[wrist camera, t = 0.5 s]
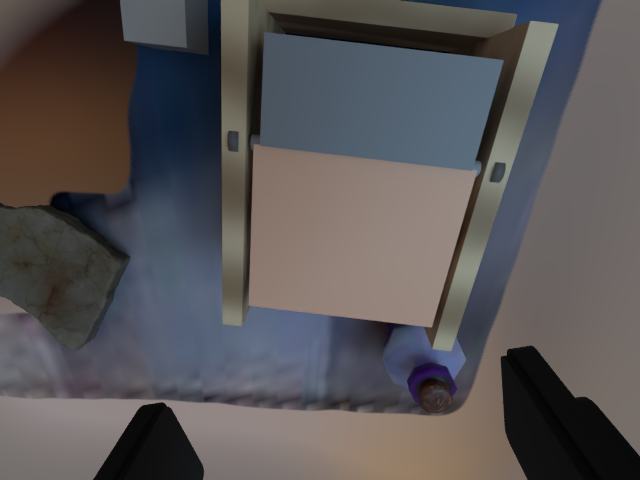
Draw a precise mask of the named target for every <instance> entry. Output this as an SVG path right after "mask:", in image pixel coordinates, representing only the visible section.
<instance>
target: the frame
mask: <svg viewBox="0 0 640 480" xmlns="http://www.w3.org/2000/svg"><path fill="white" fill-rule="evenodd" d="M516 18H517V14H511V13H502V12H494V11H485V10H476V9H468V8H459V7H451V6H442V5H434V4H425V3H417V2H408V1H400V0H221V99H222V286H223V324H226V325H235V326H242V324H243V322H244V320H245V317H246V315H247V313H248V310H249V308H250V306H249V280H250V247H251V214H252V181H253V151H252V150H251V146H250V142H251V136H252V134H255V135H260V130H261V104H262V77H263V51H264V32H269V33H277V34H285V33H292V34H301V35H309V36H318V37H327V38H335V39H344V40H352V41H361V42H369V43H378V44H386V45H395V46H403V47H412V48H420V49H429V50H437V51H446V52H452V53H451V54H456V55H465V56H473V57H482V58H490V59H499V60H504V62H503V65H502V69H501V72H500V76H499V79H498V83H497V86H496V90H495V93H494V97H493V100H492V104H491V107H490V111H489V114H488V118H487V121H486V125H485V128H484V132H483V135H482V139H481V142H480V146H479V149H478V153H477V156H476V160H475V161H480V162H481V171H480V174H479V175H478V176H477V177H475V180H474V184H473V187H472V191H471V194H470V198H469V201H468V205H467V208H466V211H465V215H464V218H463V222H462V225H461V229H460V232H459V236H458V239H457V242H456V246H455V249H454V253H453V256H452V260H451V263H450V267H449V270H448V273H447V277H446V280H445V284H444V287H443V291H442V294H441V298H440V301H439V304H438V308H437V311H436V315H435V318H434V322H433V325H432V327H424V329H425V331H426V334H427V337H428V339H429V342H430V345H431V347H432V349H436V350H444V351H451V350H452V347H453V344H454V341H455V338H456V335H457V332H458V329H459V326H460V323H461V320H462V317H463V314H464V311H465V308H466V305H467V302H468V299H469V296H470V293H471V290H472V286H473V283H474V280H475V277H476V274H477V271H478V268H479V265H480V262H481V259H482V256H483V253H484V250H485V247H486V244H487V241H488V238H489V235H490V232H491V229H492V226H493V223H494V220H495V217H496V214H497V210H498V207H499V204H500V201H501V198H502V195H503V192H504V189H505V186H506V183H507V180H508V177H509V174H510V171H511V168H512V165H513V162H514V159H515V156H516V153H517V150H518V147H519V144H520V141H521V137H522V134H523V131H524V128H525V125H526V122H527V119H528V116H529V113H530V110H531V107H532V104H533V101H534V98H535V95H536V92H537V89H538V86H539V83H540V80H541V77H542V74H543V71H544V68H545V64H546V61H547V58H548V55H549V52H550V49H551V46H552V43H553V40H554V37H555V34H556V31H557V28H558V25H559V24H553V23H545V22H536V21H529V22H526V23H524V24H521V25H519V26H516V27H514V25H515V21H516Z"/></svg>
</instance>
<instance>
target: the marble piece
mask: <svg viewBox="0 0 640 480" xmlns="http://www.w3.org/2000/svg"><path fill="white" fill-rule="evenodd" d="M129 260H130V257H129V256H127V255H124V254H122V253H121V252H119V251H117V250H116V249H115V248H114V247H113V246H111V245H110V244H108V243H107V241H106V240H105V239H104V237H103V236H102V235H100V234H99V233H97V232H95V231H92V230H90V229H89V228H87V227H85V226H84V225H83V224H82V223H81V221H80V219H79V218H77V217H74V216H72V215H71V214H69V213H67V212H62V211H60V210H57V209H56V208H54V207H53V206H49V205H45V206H42V205H38V206H24V207H19V208H14V207H11V206H5V205H3V204H1V203H0V296H1V297H5V298H7V299H9V300H11V301H12V302H13V303H14V304H16V305H18V306H19V307H21V308H23V309H24V310H25V311H26V312H28V313H30V314H32V315H33V316H34V317H36V318H37V319H38V320H39V321H40V322H41V323H42V324H43V325H44V326H45V327H46V329H47V330H49V331H50V333H51V334H52V335H53V336H54V337H55V338H56V339H57V340H58V341H59V342H60V343H61V344H62V345H65V346H67V348H69V349H72V350H78V349H80V348H82V347H83V346H84V345H85V344H86V343H88V342H89V341H91V340H92V339H93V338H95V335H96V333H97V330H98V327H99V325H100V323H101V322H102V320H103V318H104V316H105V313H106V311H107V309H108V307H109V306H110V304H111V302H112V301H113V295H114V292H115V289H116V287H117V286H118V284H119V281H120V279H121V276H122V275H123V273H124V271H125V269H126V267H127V265H128V263H129Z"/></svg>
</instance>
